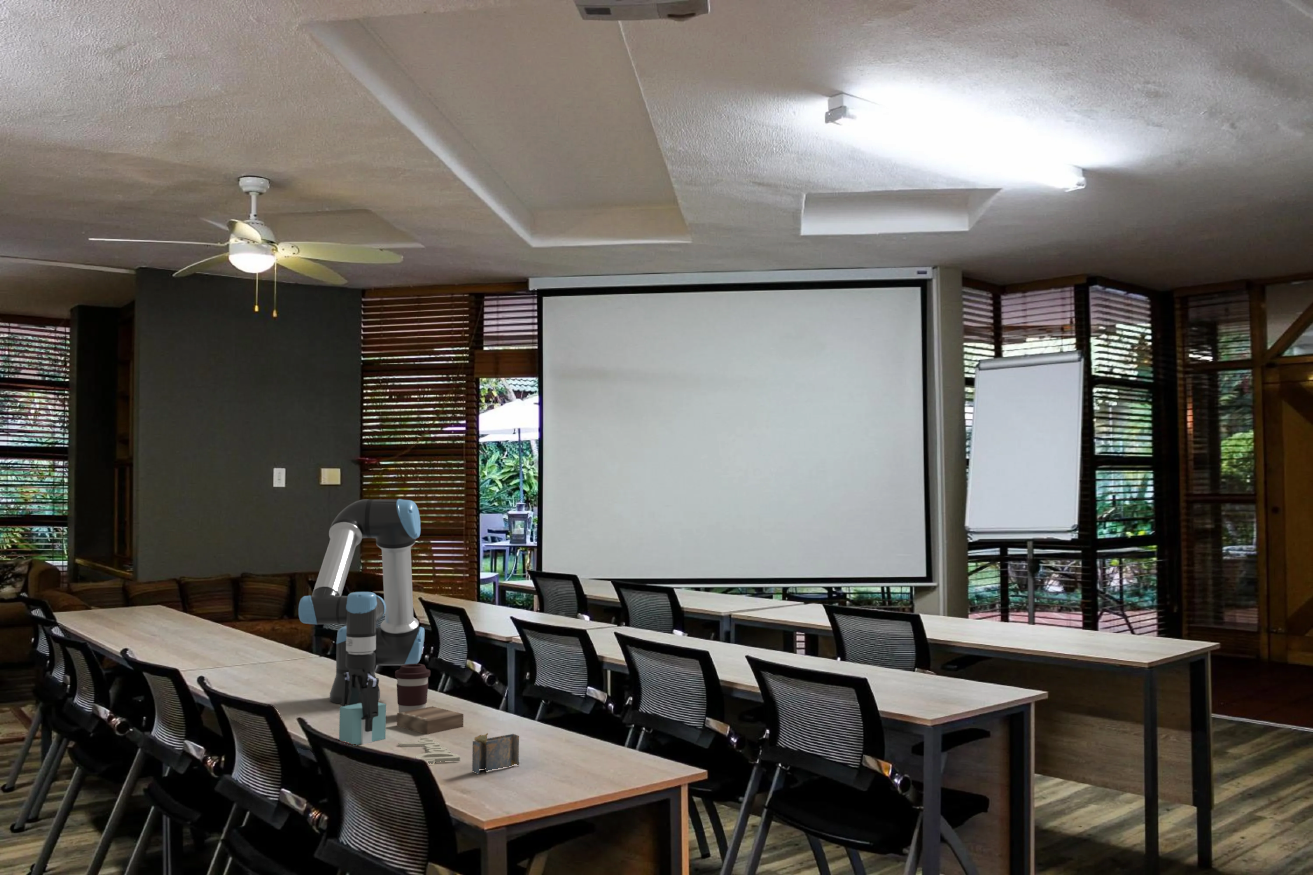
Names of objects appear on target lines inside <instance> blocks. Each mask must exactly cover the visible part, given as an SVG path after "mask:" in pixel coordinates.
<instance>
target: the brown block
mask: <svg viewBox="0 0 1313 875" xmlns="http://www.w3.org/2000/svg"><path fill="white" fill-rule="evenodd" d="M396 727H398V728H402V729H406V730H410V731H413V732H416V733H420V734H425V735H432V734H436V733H442V732H445V731H451V730H454V729H460V728H464V713H461V712H458V711H453V710H449V709H445V708H440V707H437V706H433V705H432V706H429V707H428V706H426V708H421V709H416V710H411V711H406V712H400V713H399V712H397V713H396Z"/></svg>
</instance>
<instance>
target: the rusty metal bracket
mask: <svg viewBox="0 0 1313 875" xmlns="http://www.w3.org/2000/svg"><path fill="white" fill-rule="evenodd" d="M488 735H489V733H488V732H487V733H485V734H480V735H478V736H475V737H474V740H472V761H471V762H472V763H471V764H472V765H471V766H472V768H471V770H472V771H474V772H476V773H479V774H480V771H479V769H485V768H486V770H485V772H486V771H488V770H492V769H498V768H503V767H509V766H512V765H514V764H517V765H519V764H520V735H519V734H516V733H510V734H504V735H503V734H502V735H499V736H495V737H488ZM519 766H520V765H519ZM472 771H471V772H472Z"/></svg>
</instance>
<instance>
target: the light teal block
mask: <svg viewBox="0 0 1313 875" xmlns="http://www.w3.org/2000/svg"><path fill="white" fill-rule="evenodd" d="M367 714H368V713H367ZM362 717H363V710H362V703H358V704H353V705H347V706H339V724H338V725H339V726H338V727H339V728H338V733H339V734H338V735H339V736H338V740H341V741H346V742H349V743H351V744H356V745H355V746H358V745H362V744H361V718H362ZM386 719H387V704H386V703H383V702H379V701H378V716H377V717H374V718H373V726H372V743H374V742H377V741H381V740H386V733H387V732H386V730H387V729H386V727H387V726H386V725H387V723H386V722H387V720H386Z"/></svg>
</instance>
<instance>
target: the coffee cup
mask: <svg viewBox="0 0 1313 875" xmlns="http://www.w3.org/2000/svg"><path fill="white" fill-rule="evenodd" d="M394 677H395V678H396V680H397V682H396V698H397V699H396V700H397V705H398V713H400V712H406V711H411V710H416V709H421V708H427V706H426V705H427V702H428V691H429V677H431V670H430V669H428V668H426V665H425V664H424V663H423V664H422V663H417V664H405V665H400V667H399V669H397V670H395V671H394Z"/></svg>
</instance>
